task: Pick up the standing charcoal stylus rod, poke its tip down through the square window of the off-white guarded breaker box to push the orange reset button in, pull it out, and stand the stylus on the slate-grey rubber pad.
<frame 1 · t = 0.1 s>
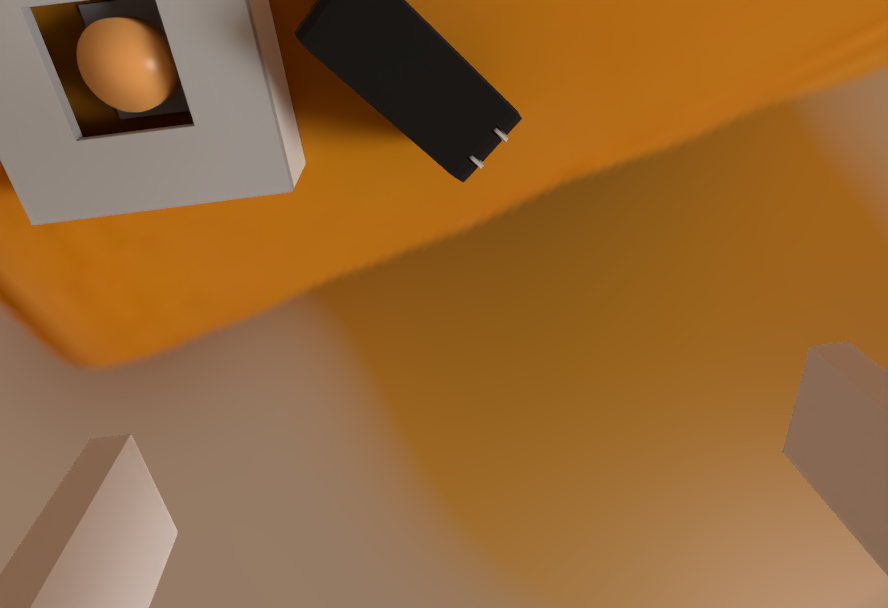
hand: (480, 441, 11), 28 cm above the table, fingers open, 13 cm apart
button: (132, 64, 30), point 3 cm above the table, slide at 0.0 cm
breaker box: (155, 57, 33), on the table
electronic device: (407, 56, 34), on the table
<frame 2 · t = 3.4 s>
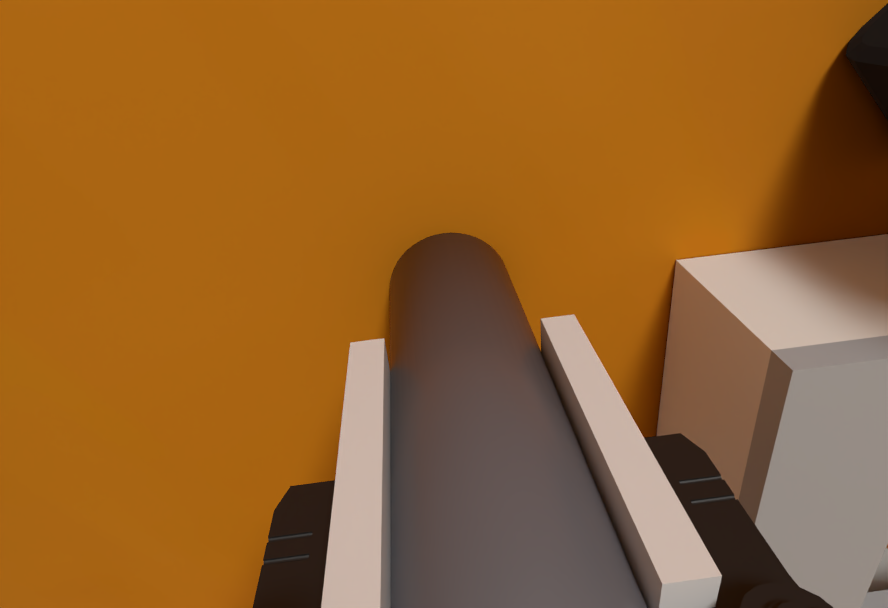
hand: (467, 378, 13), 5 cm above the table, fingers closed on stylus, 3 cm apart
breaker box: (843, 409, 21), on the table
stylus: (449, 288, 17), on the table, touching gripper
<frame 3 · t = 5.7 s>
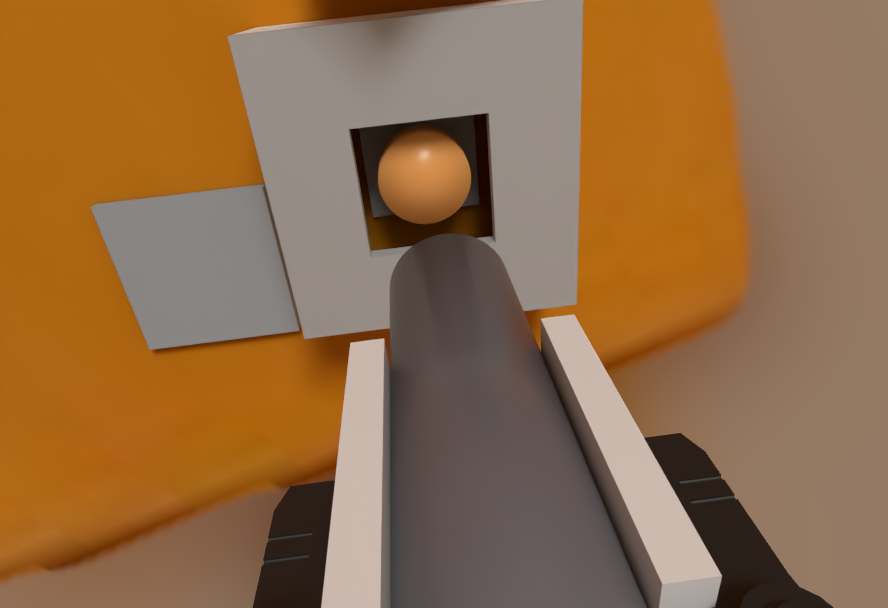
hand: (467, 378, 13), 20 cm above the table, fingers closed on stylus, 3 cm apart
button: (423, 174, 28), point 3 cm above the table, slide at 0.0 cm
pad: (205, 269, 33), on the table
breaker box: (420, 156, 31), on the table
stylus: (449, 288, 17), point 16 cm above the table, touching gripper
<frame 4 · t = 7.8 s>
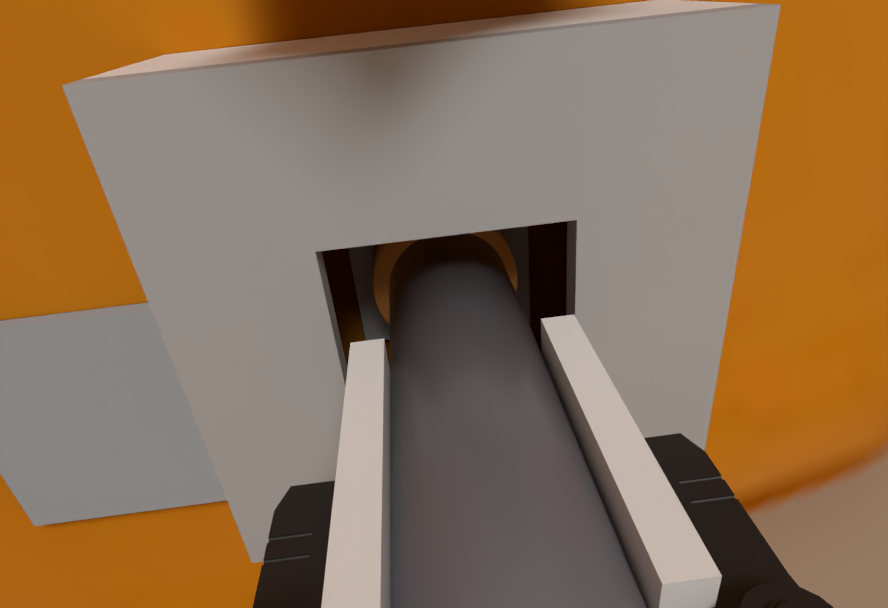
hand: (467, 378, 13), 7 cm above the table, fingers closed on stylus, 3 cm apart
button: (443, 271, 18), point 1 cm above the table, slide at 2.0 cm, touching stylus
pad: (110, 415, 22), on the table
breaker box: (439, 253, 20), on the table
stylus: (448, 286, 17), point 2 cm above the table, touching button, gripper
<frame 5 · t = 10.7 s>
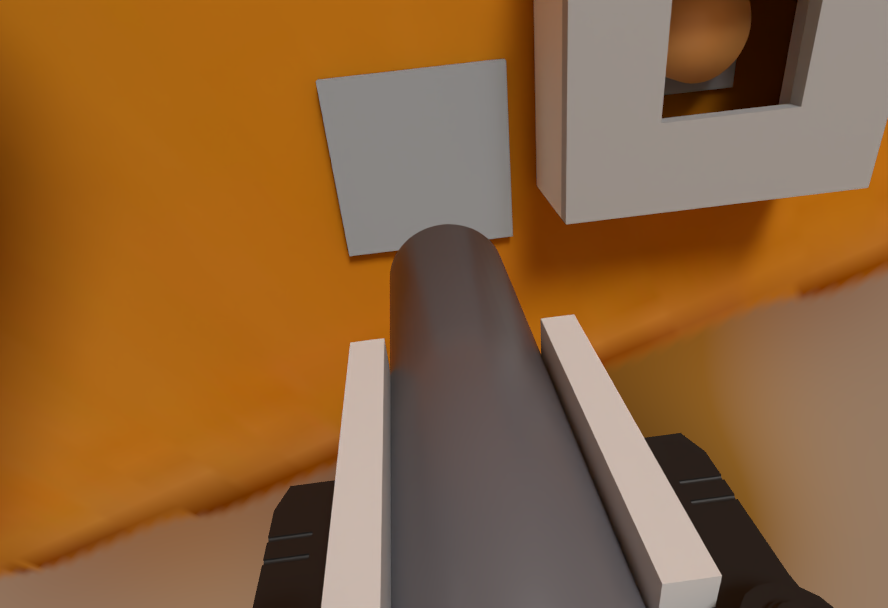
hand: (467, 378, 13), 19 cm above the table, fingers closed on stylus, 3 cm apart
button: (691, 29, 26), point 1 cm above the table, slide at 1.9 cm
pad: (421, 161, 30), on the table
breaker box: (677, 27, 28), on the table
stylus: (447, 277, 18), point 13 cm above the table, touching gripper
when the fingers open (6 cm above the table, at t = 12.7 s): stylus stays where it is, resting on pad.
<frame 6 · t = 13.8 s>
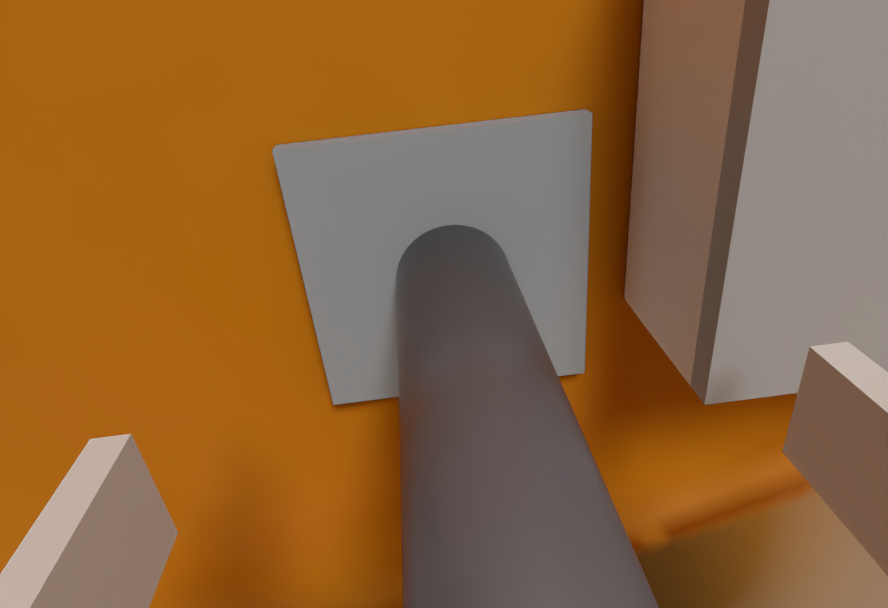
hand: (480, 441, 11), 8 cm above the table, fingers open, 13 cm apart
pad: (446, 267, 19), on the table
breaker box: (876, 57, 17), on the table
stylus: (453, 278, 18), point 1 cm above the table, touching pad
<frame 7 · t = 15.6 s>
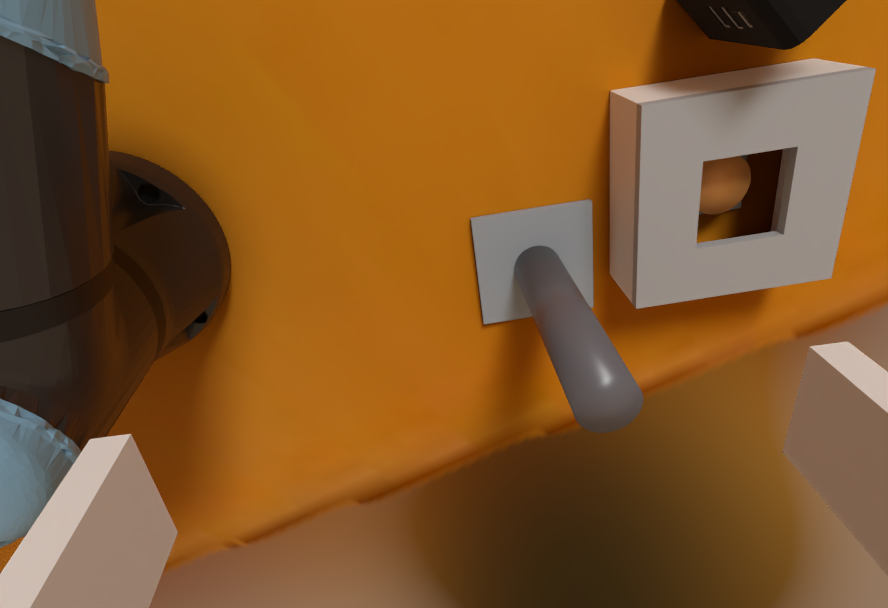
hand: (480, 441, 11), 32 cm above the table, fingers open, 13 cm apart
button: (712, 180, 41), point 1 cm above the table, slide at 1.9 cm
pad: (533, 262, 45), on the table
breaker box: (703, 174, 42), on the table
stylus: (537, 267, 44), point 1 cm above the table, touching pad
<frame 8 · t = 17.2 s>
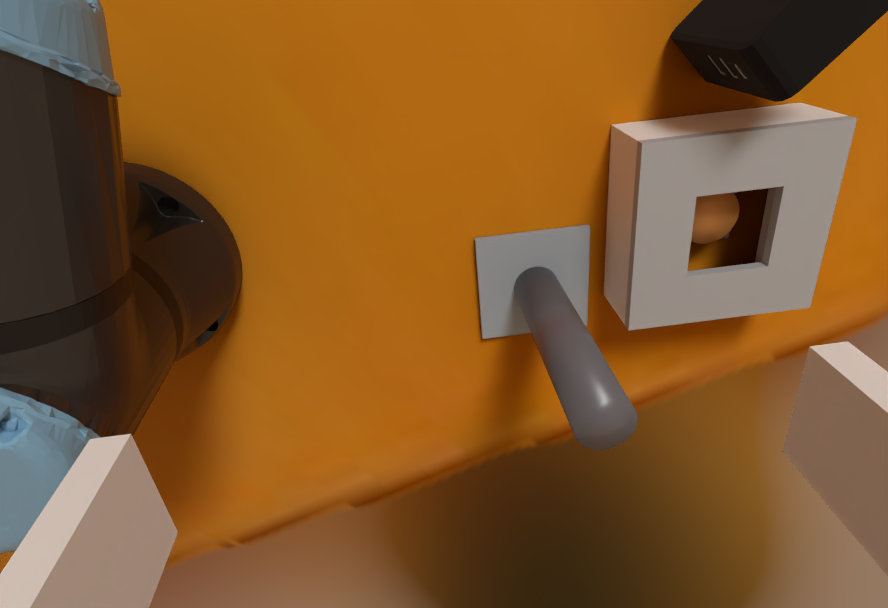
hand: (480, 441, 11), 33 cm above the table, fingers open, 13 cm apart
button: (703, 211, 44), point 1 cm above the table, slide at 1.9 cm
pad: (532, 282, 47), on the table
breaker box: (694, 205, 45), on the table
stylus: (535, 286, 47), point 1 cm above the table, touching pad
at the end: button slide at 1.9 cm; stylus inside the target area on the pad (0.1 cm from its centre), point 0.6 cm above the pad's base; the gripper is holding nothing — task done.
